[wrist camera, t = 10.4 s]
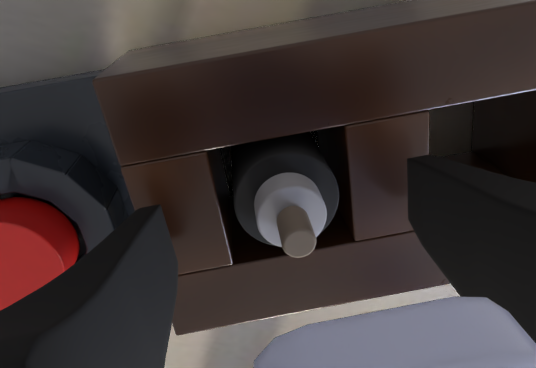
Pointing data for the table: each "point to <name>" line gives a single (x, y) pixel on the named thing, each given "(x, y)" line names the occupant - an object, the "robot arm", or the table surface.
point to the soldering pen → (284, 191)
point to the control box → (63, 154)
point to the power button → (32, 247)
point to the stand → (330, 141)
